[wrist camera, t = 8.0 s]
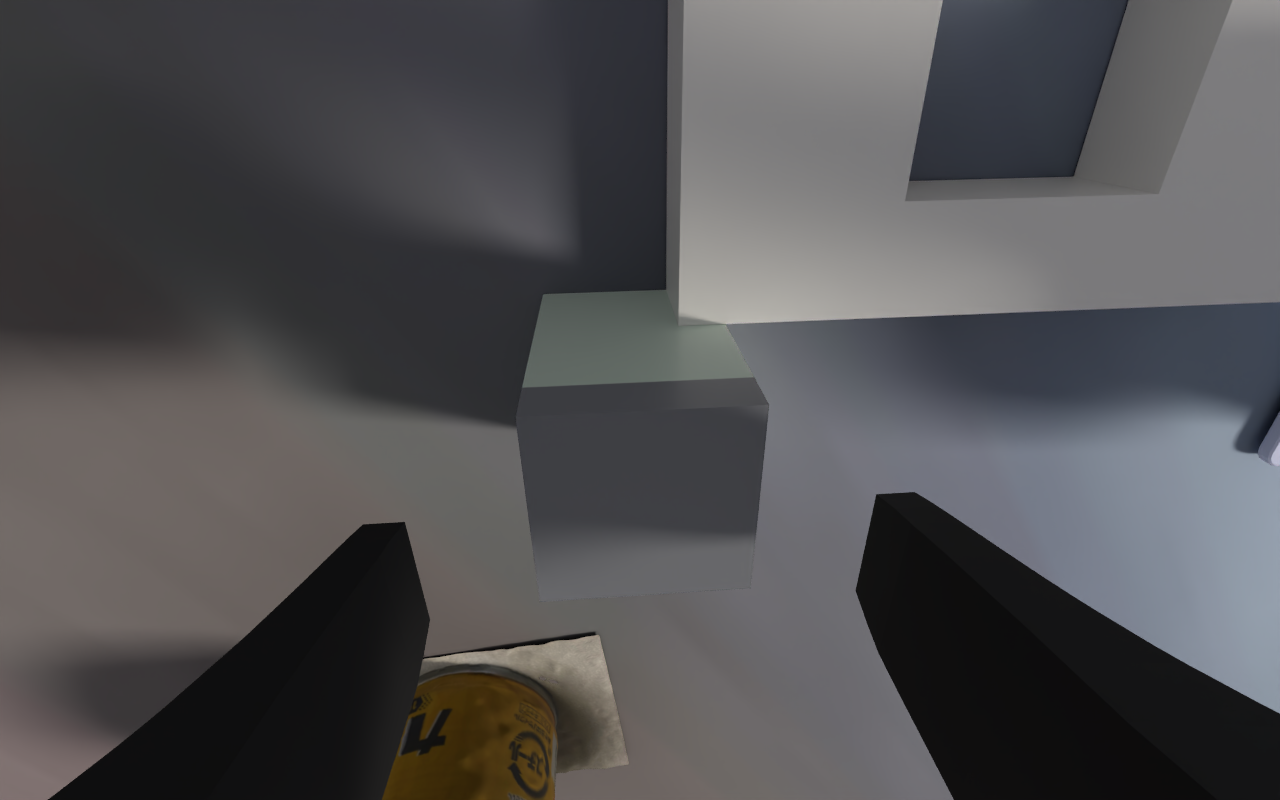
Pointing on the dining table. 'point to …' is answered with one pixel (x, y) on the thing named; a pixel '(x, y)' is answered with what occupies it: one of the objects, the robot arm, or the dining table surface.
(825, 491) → the dining table surface
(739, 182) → the socket
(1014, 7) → the dining table surface
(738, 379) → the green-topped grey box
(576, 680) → the yellow metal cylinder
